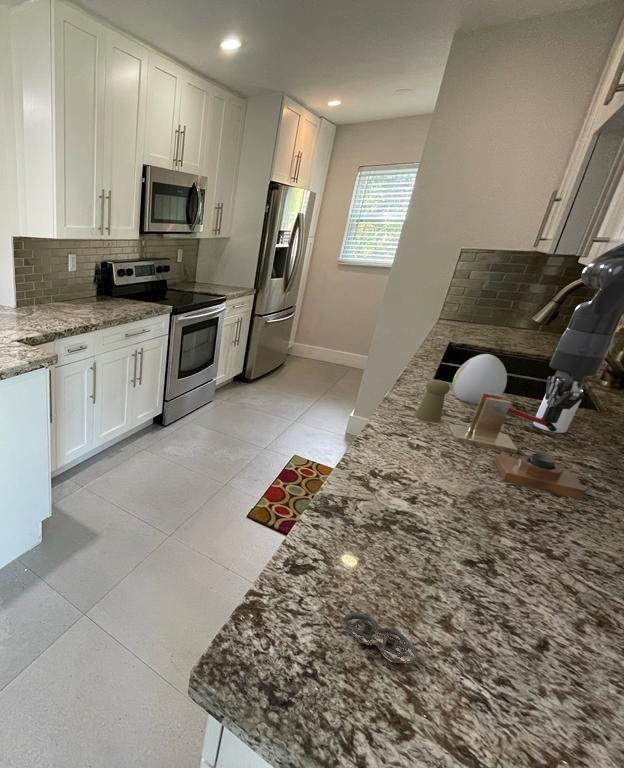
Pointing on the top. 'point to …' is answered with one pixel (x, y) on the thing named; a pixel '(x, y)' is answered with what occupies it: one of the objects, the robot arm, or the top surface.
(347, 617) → the corroded twin loop
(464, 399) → the decorative egg
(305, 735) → the top surface
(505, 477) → the button block
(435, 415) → the olive pepper shaker
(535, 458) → the button
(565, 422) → the can
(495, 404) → the brass bookend
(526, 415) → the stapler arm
